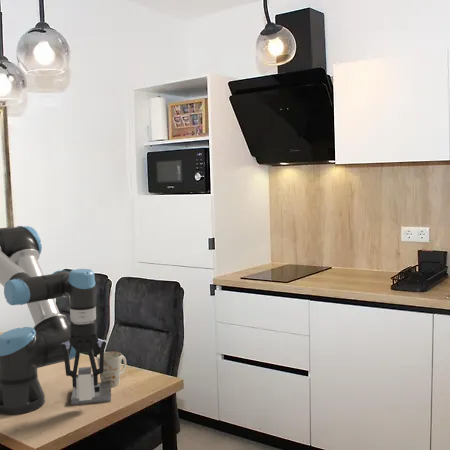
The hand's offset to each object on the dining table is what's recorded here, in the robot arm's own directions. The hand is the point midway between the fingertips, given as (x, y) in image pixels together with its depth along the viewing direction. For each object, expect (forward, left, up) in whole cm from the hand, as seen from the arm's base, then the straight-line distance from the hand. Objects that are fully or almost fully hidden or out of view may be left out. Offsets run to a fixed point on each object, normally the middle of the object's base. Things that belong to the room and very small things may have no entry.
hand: (85, 396), depth 176 cm
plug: (0, 0, 0) cm, 1 cm away
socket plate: (+1, +10, -4) cm, 11 cm away
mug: (+9, +22, -4) cm, 24 cm away
